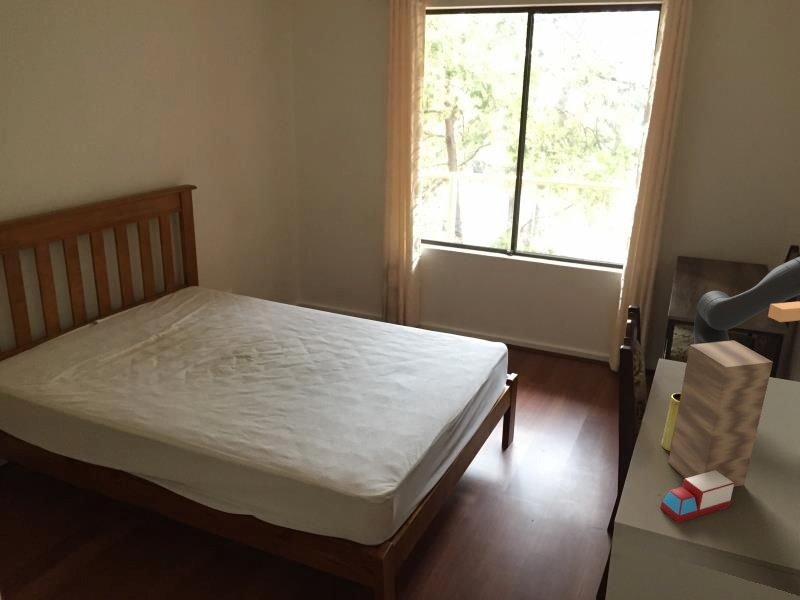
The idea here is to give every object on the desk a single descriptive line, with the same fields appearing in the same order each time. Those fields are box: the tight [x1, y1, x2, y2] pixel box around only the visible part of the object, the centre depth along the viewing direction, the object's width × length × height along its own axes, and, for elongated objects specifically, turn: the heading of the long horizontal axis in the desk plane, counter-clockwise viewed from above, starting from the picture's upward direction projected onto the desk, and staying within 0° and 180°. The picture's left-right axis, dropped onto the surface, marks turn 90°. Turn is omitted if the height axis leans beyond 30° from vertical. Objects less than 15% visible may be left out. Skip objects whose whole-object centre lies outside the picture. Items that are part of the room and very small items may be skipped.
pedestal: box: [668, 340, 774, 488], centre depth 154 cm, size 12×12×32 cm
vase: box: [660, 392, 681, 452], centre depth 168 cm, size 6×6×14 cm
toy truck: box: [660, 470, 735, 523], centre depth 146 cm, size 6×15×7 cm, turn 113°
